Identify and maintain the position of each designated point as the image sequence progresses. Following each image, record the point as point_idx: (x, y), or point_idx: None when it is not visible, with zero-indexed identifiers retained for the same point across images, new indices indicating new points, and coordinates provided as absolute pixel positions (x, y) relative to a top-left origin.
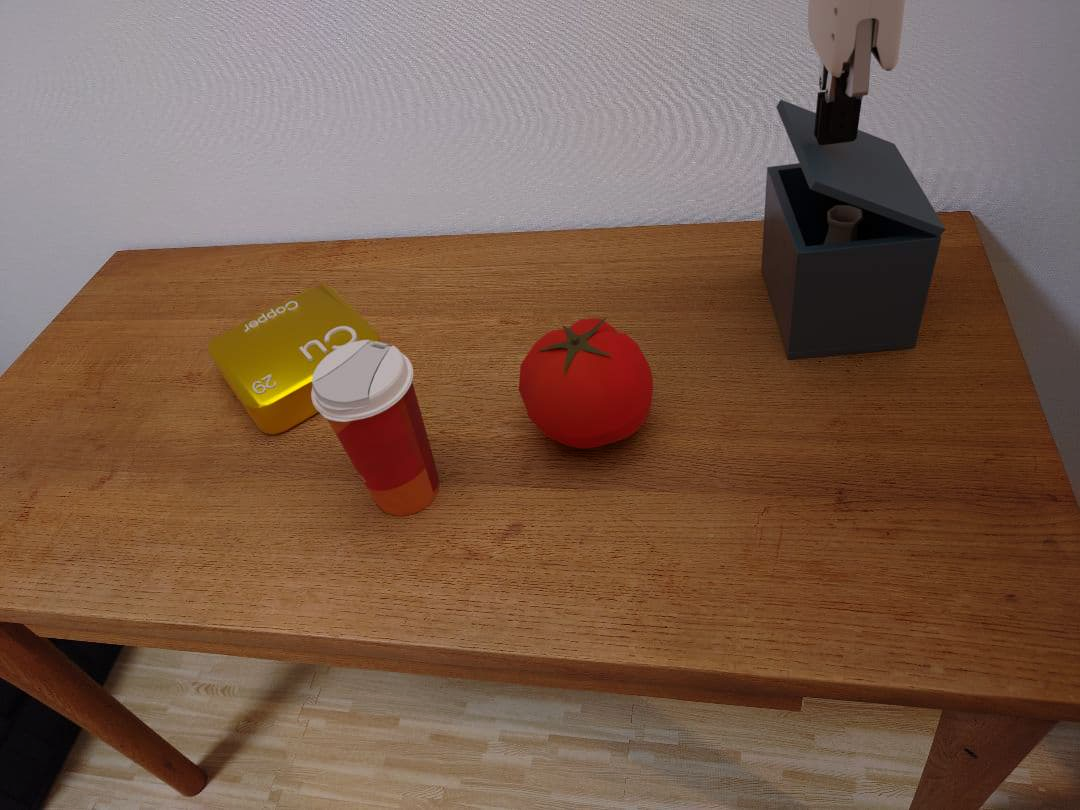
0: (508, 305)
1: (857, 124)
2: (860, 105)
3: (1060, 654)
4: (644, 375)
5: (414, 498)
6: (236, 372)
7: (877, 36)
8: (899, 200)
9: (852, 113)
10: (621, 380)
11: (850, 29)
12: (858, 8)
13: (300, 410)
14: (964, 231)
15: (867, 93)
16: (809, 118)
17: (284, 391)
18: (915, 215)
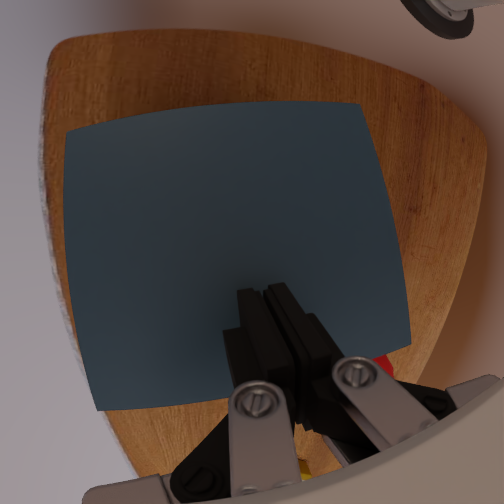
0: (204, 425)
1: (296, 302)
2: (319, 334)
3: (479, 132)
4: (378, 362)
5: None
6: None
7: None
8: (342, 170)
9: (336, 344)
10: (391, 375)
11: None
12: None
13: (301, 464)
14: (85, 40)
15: (494, 377)
16: (123, 350)
17: (305, 475)
18: (369, 151)
